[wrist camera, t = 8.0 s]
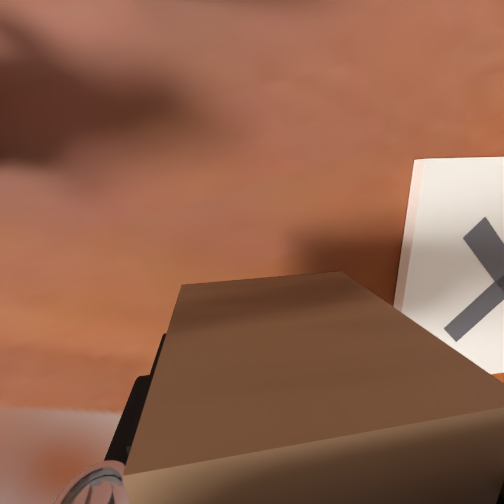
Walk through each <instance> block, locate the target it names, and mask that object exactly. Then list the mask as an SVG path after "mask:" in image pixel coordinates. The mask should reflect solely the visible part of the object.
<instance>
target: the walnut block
mask: <svg viewBox="0 0 504 504" xmlns="http://www.w3.org/2000/svg"><path fill="white" fill-rule="evenodd" d="M123 480H124V485H125V489H126V493H127V497H128V501H129V504H496V502H497V499H498V497H499V494H500V491H501V488H502V485H503V482H504V383H502V382H501V381H500V380H498V379H497V378H495V377H494V376H492V375H491V374H489V373H488V372H487V371H485V370H484V369H482V368H481V367H479V366H478V365H476V364H475V363H474V362H472V361H471V360H469V359H468V358H466V357H465V356H463V355H462V354H461V353H459V352H458V351H456V350H455V349H453V348H452V347H451V346H449V345H448V344H446V343H445V342H443V341H442V340H440V339H439V338H438V337H436V336H435V335H433V334H432V333H430V332H429V331H427V330H426V329H425V328H423V327H422V326H420V325H419V324H417V323H416V322H414V321H413V320H412V319H410V318H409V317H407V316H406V315H404V314H403V313H401V312H400V311H399V310H397V309H396V308H394V307H393V306H391V305H390V304H389V303H387V302H386V301H384V300H383V299H381V298H380V297H378V296H377V295H376V294H374V293H373V292H371V291H370V290H368V289H367V288H365V287H364V286H363V285H361V284H360V283H358V282H357V281H355V280H354V279H352V278H351V277H350V276H348V275H347V274H345V273H344V272H342V271H336V272H325V273H313V274H302V275H290V276H278V277H267V278H255V279H244V280H232V281H221V282H209V283H197V284H186V285H181V289H180V292H179V295H178V298H177V302H176V305H175V308H174V311H173V315H172V318H171V321H170V324H169V327H168V331H167V334H166V337H165V340H164V344H163V347H162V350H161V353H160V356H159V360H158V363H157V366H156V369H155V373H154V376H153V379H152V382H151V385H150V389H149V392H148V395H147V398H146V402H145V405H144V408H143V411H142V414H141V418H140V421H139V424H138V427H137V431H136V434H135V437H134V440H133V443H132V447H131V450H130V453H129V456H128V460H127V463H126V466H125V469H124V473H123Z"/></svg>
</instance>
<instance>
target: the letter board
mask: <svg viewBox="0 0 504 504" xmlns="http://www.w3.org/2000/svg"><path fill="white" fill-rule="evenodd" d="M393 307H394V308H396V309H397V310H399V311H400V312H401V313H403V314H404V315H406V316H407V317H409V318H410V319H412V320H413V321H414V322H416V323H417V324H419V325H420V326H422V327H423V328H425V329H426V330H427V331H429V332H430V333H432V334H433V335H435V336H436V337H438V338H439V339H440V340H442V341H443V342H445V343H446V344H448V345H449V346H451V347H452V348H453V349H455V350H456V351H458V352H459V353H461V354H462V355H463V356H465V357H466V358H468V359H469V360H471V361H472V362H474V363H475V364H476V365H478V366H479V367H481V368H482V369H484V370H485V371H487V372H488V373H489V374H495V373H502V372H504V157H477V158H436V159H418V160H414V166H413V173H412V180H411V187H410V194H409V201H408V208H407V215H406V222H405V229H404V236H403V243H402V250H401V257H400V264H399V271H398V278H397V285H396V292H395V299H394V306H393Z"/></svg>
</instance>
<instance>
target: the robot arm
mask: <svg viewBox="0 0 504 504" xmlns="http://www.w3.org/2000/svg"><path fill="white" fill-rule="evenodd" d="M166 334H167V333H165V334H163V336H162V339H161V342H160V345H159V348H158V351H157V354H156V357H155V360H154V363H153V366H152V369H151V372H150V375H146V376H139V377H138V378H137V379H136V381H135V383H134V386H133V388H132V391H131V393H130V396H129V398H128V401H127V404H126V406H125V409H124V411H123V414H122V416H121V419H120V421H119V424H118V426H117V429H116V431H115V434H114V437H113V439H112V442H111V444H110V447H109V449H108V452H107V454H106V457H105V459H104V461H102V462H99V463H96V464H94V465H91V466H90V467H88V468H87V469H85V470H83V471H82V472H80V473H79V474H78V475H77V476H76V477H74V478H73V479H72V480H71V481H70V482H69V483H68V484H67V485H66V486H65V488H64V489H63V490H62V491H61V492H60V494H59V495H58V496H57V498H56V500H55V502H54V504H129V501H128V497H127V493H126V489H125V485H124V480H123V473H124V469H125V466H126V463H127V460H128V456H129V453H130V450H131V447H132V443H133V440H134V437H135V434H136V431H137V427H138V424H139V421H140V418H141V414H142V411H143V408H144V405H145V402H146V398H147V395H148V392H149V389H150V385H151V382H152V379H153V376H154V373H155V369H156V366H157V363H158V360H159V356H160V353H161V350H162V347H163V344H164V340H165V337H166ZM496 504H504V482H503V485H502V488H501V491H500V494H499V497H498V499H497V502H496Z"/></svg>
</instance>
